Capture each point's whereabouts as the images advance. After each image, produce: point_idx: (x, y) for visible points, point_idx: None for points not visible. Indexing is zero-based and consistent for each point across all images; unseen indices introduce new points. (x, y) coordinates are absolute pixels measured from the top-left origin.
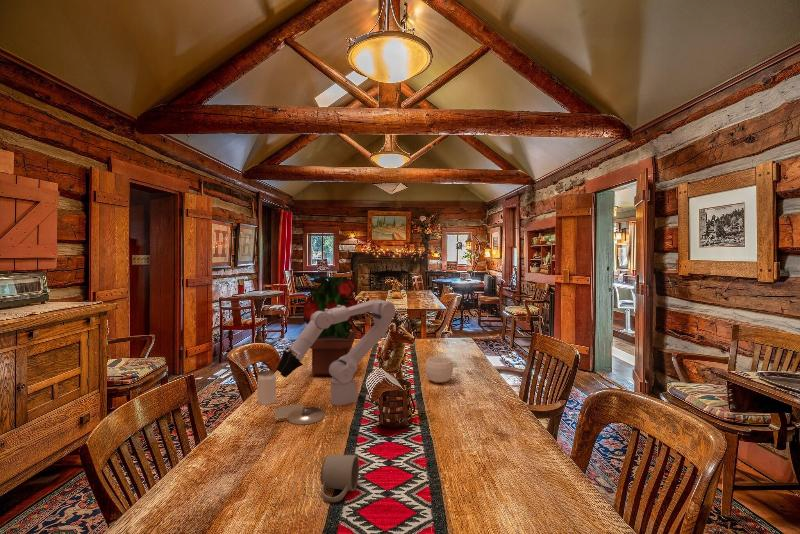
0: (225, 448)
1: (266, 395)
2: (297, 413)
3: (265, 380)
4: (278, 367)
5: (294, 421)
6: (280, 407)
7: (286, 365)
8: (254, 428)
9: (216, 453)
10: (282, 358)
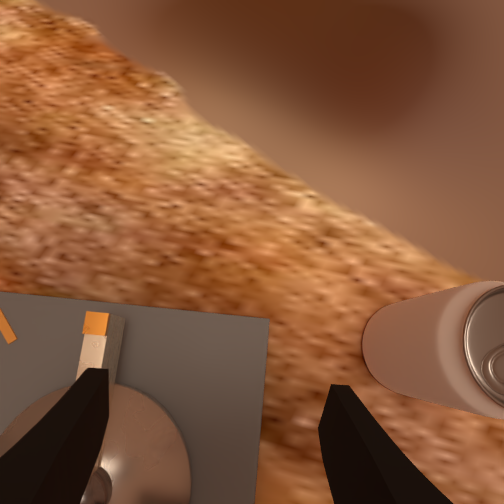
0: (35, 111)
1: (386, 334)
2: None
3: (434, 323)
4: (337, 409)
5: (35, 402)
6: (90, 344)
7: (2, 459)
8: (152, 236)
9: (15, 81)
10: (392, 498)
